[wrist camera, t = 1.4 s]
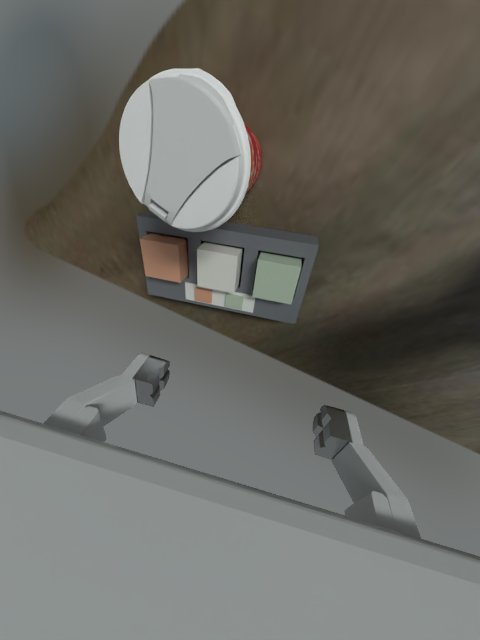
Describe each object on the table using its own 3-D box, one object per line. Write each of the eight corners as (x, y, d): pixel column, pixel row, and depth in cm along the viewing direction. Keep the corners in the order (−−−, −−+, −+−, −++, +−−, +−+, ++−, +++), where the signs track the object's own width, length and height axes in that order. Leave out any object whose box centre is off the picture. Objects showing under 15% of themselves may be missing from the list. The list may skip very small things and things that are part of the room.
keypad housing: (317, 236, 26) (319, 247, 23) (295, 309, 32) (295, 326, 29) (152, 209, 28) (133, 216, 25) (160, 282, 34) (146, 295, 31)
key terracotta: (187, 239, 26) (178, 245, 24) (188, 274, 29) (180, 282, 27) (151, 232, 27) (139, 238, 25) (155, 268, 29) (145, 276, 27)
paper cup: (244, 217, 27) (202, 261, 15) (187, 171, 25) (96, 182, 14) (290, 148, 22) (279, 137, 11) (225, 87, 21) (135, 3, 9)
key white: (242, 248, 26) (237, 255, 24) (238, 284, 28) (234, 293, 26) (204, 242, 26) (197, 248, 24) (204, 277, 29) (197, 286, 27)
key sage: (301, 258, 25) (301, 267, 23) (292, 294, 27) (291, 304, 25) (261, 251, 25) (257, 259, 23) (255, 287, 28) (252, 296, 26)
